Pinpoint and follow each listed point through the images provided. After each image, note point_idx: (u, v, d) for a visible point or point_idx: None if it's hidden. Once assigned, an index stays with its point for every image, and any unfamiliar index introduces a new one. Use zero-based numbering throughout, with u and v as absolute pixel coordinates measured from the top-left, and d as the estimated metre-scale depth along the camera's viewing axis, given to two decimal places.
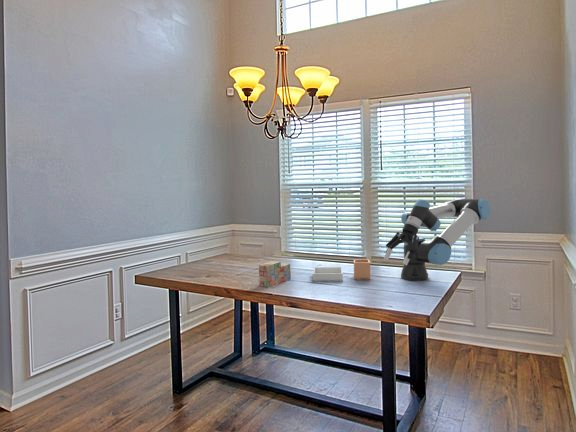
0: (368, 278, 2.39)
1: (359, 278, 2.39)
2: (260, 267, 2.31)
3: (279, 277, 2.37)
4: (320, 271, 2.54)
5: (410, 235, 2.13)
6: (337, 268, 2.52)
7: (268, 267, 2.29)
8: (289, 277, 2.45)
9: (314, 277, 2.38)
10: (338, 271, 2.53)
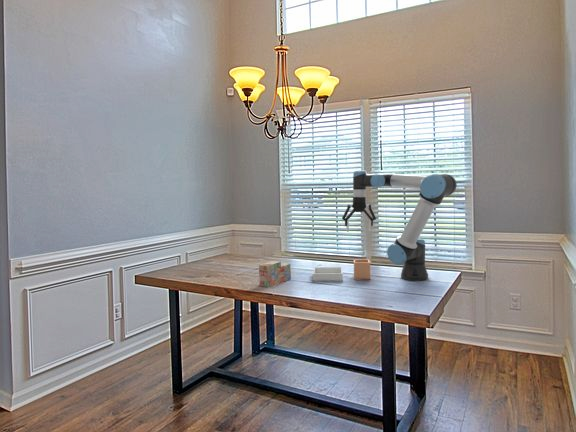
0: (368, 278, 2.39)
1: (359, 278, 2.39)
2: (260, 267, 2.31)
3: (279, 277, 2.37)
4: (320, 271, 2.54)
5: None
6: (337, 268, 2.52)
7: (268, 267, 2.29)
8: (289, 277, 2.45)
9: (314, 277, 2.38)
10: (338, 271, 2.53)
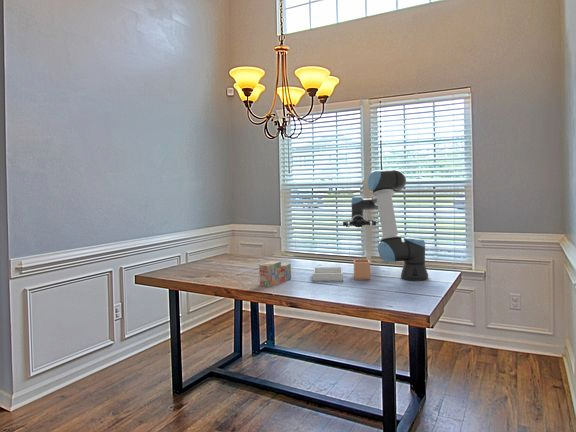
0: (368, 278, 2.39)
1: (359, 278, 2.39)
2: (260, 267, 2.32)
3: (279, 277, 2.38)
4: (320, 271, 2.54)
5: None
6: (337, 268, 2.52)
7: (268, 267, 2.29)
8: (289, 277, 2.45)
9: (314, 277, 2.38)
10: (338, 271, 2.53)
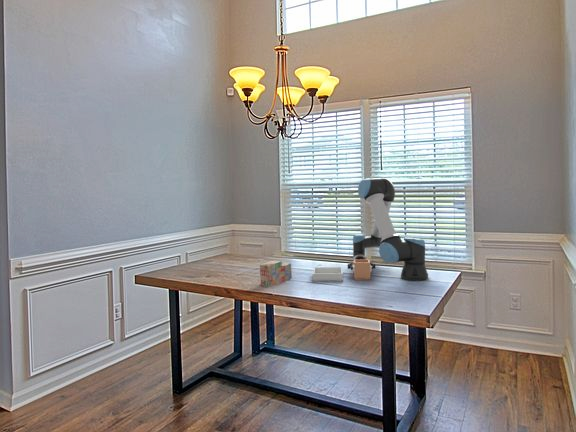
0: (368, 278, 2.39)
1: (359, 278, 2.39)
2: (261, 266, 2.32)
3: (280, 276, 2.38)
4: (320, 271, 2.54)
5: None
6: (337, 268, 2.52)
7: (269, 266, 2.30)
8: (290, 276, 2.46)
9: (314, 277, 2.38)
10: (338, 271, 2.53)
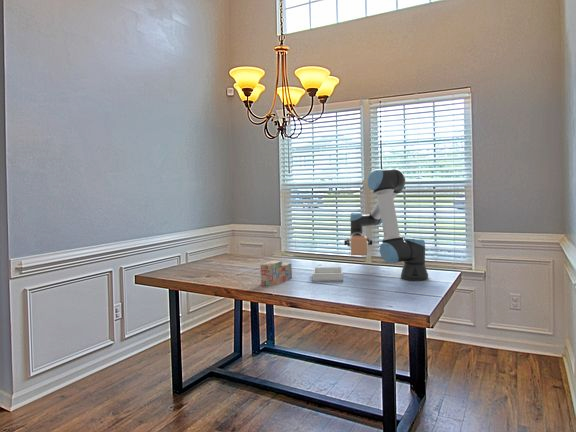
0: (365, 254, 2.38)
1: (356, 253, 2.39)
2: (262, 266, 2.33)
3: (280, 276, 2.39)
4: (320, 271, 2.54)
5: None
6: (337, 268, 2.52)
7: (270, 266, 2.30)
8: (290, 276, 2.47)
9: (314, 277, 2.38)
10: (338, 271, 2.53)
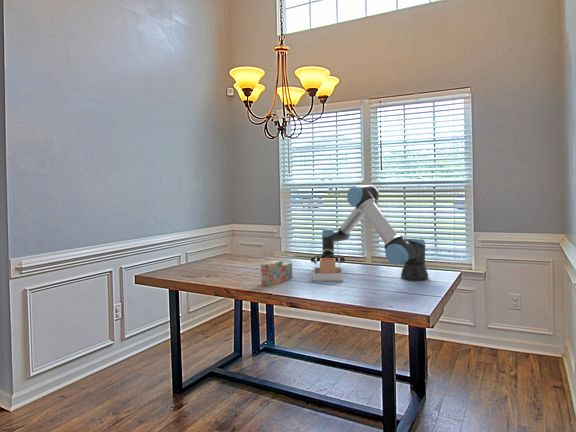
0: None
1: None
2: (262, 266, 2.33)
3: (281, 276, 2.39)
4: None
5: None
6: (337, 268, 2.52)
7: (270, 266, 2.31)
8: (291, 276, 2.47)
9: (314, 277, 2.38)
10: (338, 271, 2.53)
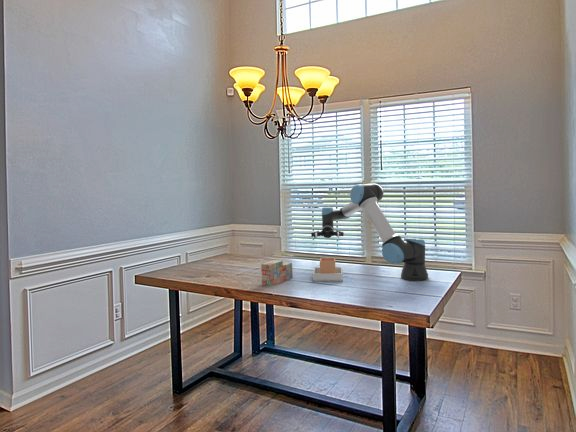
0: None
1: None
2: (262, 266, 2.34)
3: (281, 276, 2.40)
4: None
5: None
6: (337, 268, 2.52)
7: (270, 266, 2.31)
8: (291, 276, 2.48)
9: (314, 277, 2.38)
10: (338, 271, 2.53)
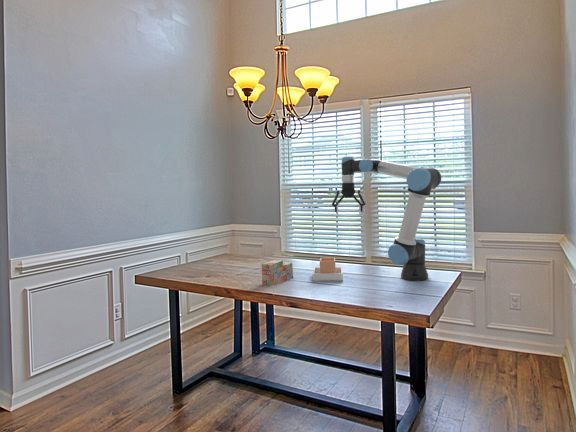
0: None
1: None
2: (263, 266, 2.34)
3: (281, 276, 2.40)
4: None
5: None
6: (337, 268, 2.52)
7: (271, 266, 2.32)
8: (291, 276, 2.48)
9: (314, 277, 2.38)
10: (338, 271, 2.53)
